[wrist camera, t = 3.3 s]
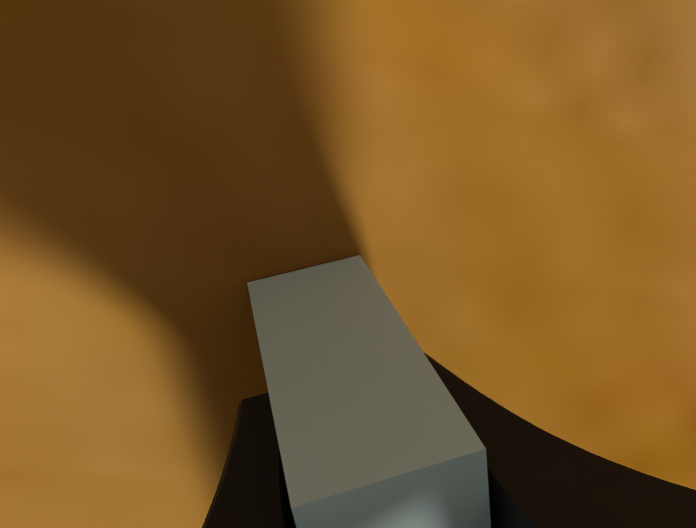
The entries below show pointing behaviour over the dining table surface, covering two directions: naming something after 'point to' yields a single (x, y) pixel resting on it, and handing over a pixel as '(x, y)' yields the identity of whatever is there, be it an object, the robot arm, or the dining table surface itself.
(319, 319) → the pale green flat block
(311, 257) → the dining table surface
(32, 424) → the dining table surface
